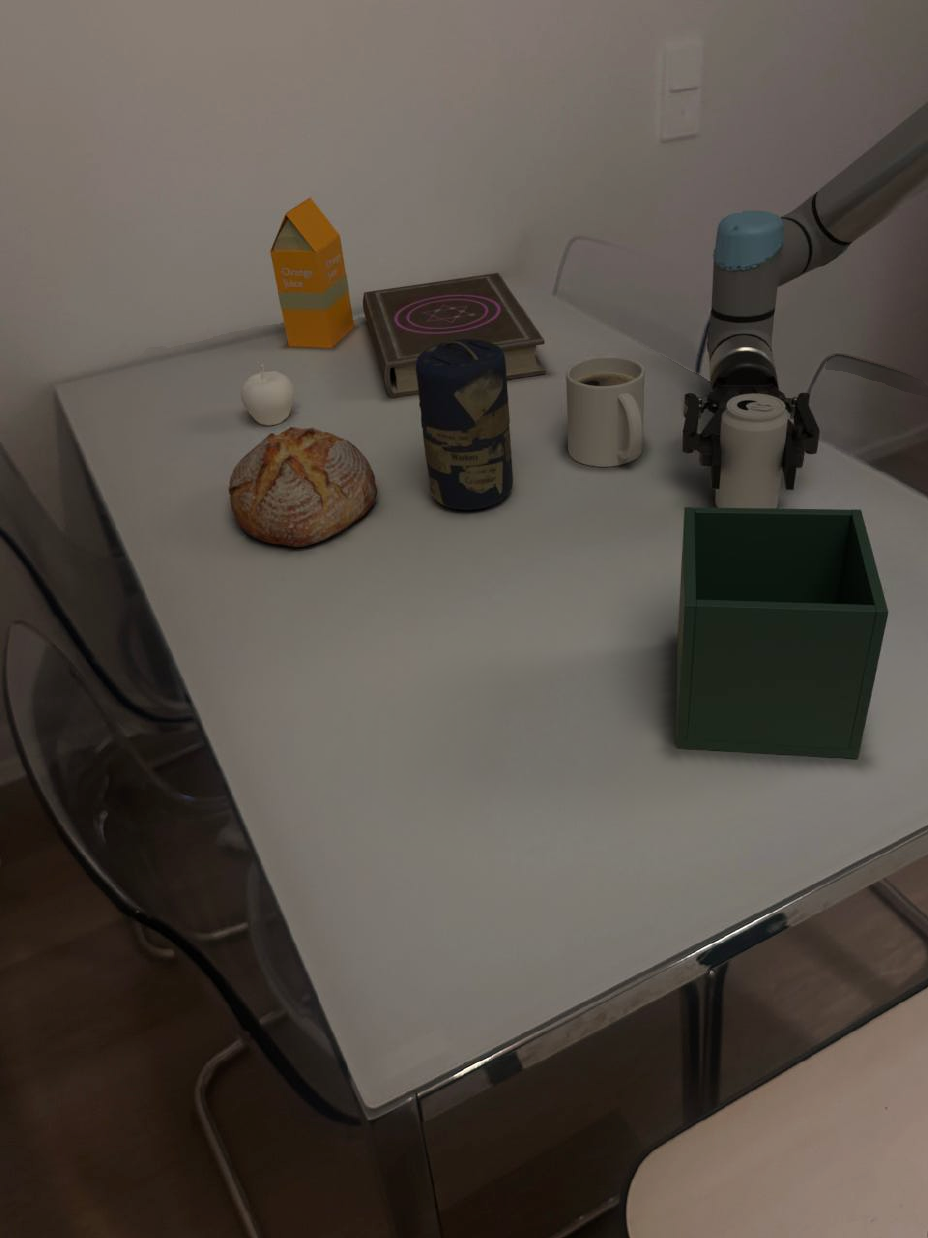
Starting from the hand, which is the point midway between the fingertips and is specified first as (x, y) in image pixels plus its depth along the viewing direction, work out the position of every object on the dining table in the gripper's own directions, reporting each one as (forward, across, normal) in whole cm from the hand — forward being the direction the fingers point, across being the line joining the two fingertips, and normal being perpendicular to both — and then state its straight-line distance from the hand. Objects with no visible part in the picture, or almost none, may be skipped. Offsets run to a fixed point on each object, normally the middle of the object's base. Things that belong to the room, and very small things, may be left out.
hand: (753, 477), depth 99 cm
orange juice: (-56, +62, -7) cm, 84 cm away
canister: (-7, +30, -7) cm, 32 cm away
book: (-51, +41, -7) cm, 66 cm away
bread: (-4, +49, -7) cm, 49 cm away
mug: (-17, +15, -7) cm, 24 cm away
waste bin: (+25, 0, -7) cm, 26 cm away
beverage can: (-5, 0, -7) cm, 8 cm away
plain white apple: (-27, +61, -7) cm, 67 cm away
